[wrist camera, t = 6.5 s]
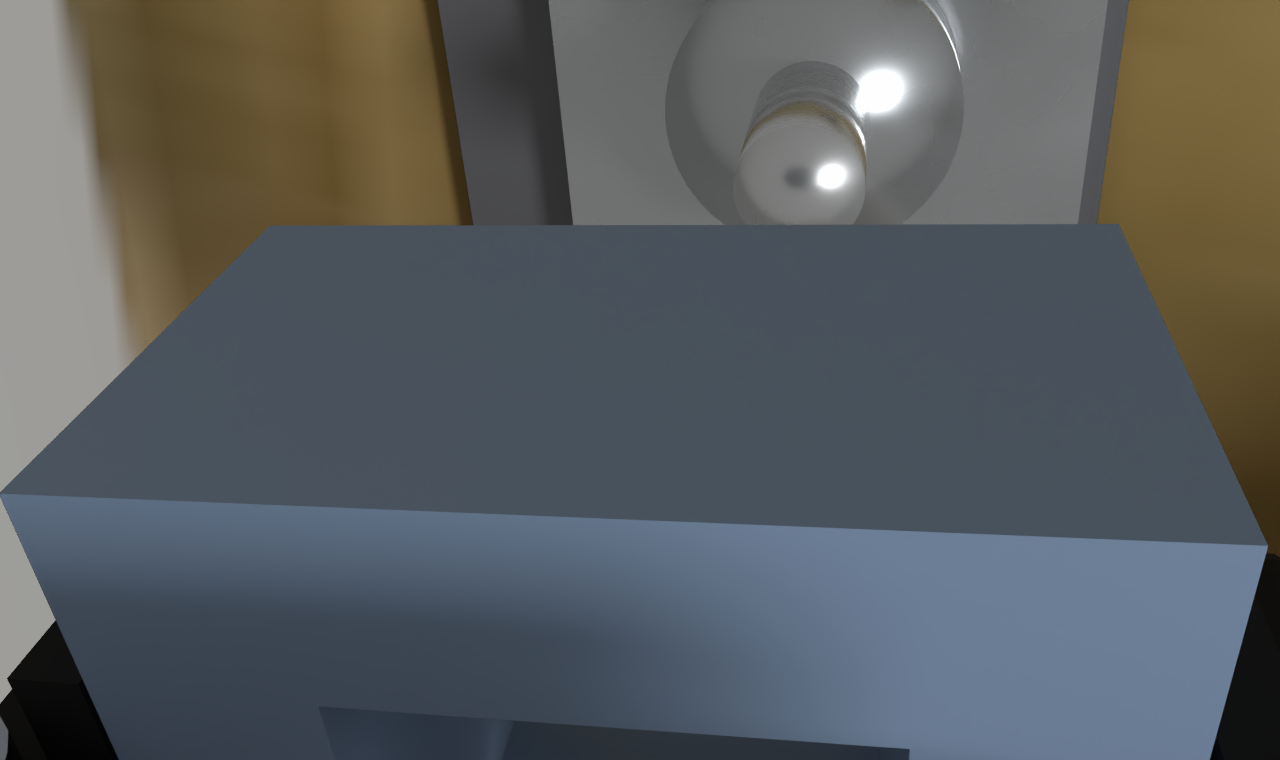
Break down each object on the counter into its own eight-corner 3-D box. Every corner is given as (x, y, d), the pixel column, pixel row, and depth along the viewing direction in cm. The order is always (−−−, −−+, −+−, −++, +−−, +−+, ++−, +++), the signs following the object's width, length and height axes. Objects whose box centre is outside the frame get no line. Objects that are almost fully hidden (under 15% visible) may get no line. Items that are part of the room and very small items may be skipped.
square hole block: (1117, 224, 8) (1268, 546, 5) (1025, 817, 11) (1084, 1218, 9) (269, 225, 9) (-2, 492, 6) (411, 769, 13) (276, 1108, 10)
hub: (1130, -234, 19) (1213, -195, 14) (1059, 308, 24) (1101, 472, 19) (539, -197, 21) (433, -151, 16) (590, 298, 26) (522, 445, 21)
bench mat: (1189, -461, 18) (1195, -464, 17) (989, 953, 36) (990, 965, 36) (385, -382, 20) (377, -383, 20) (585, 903, 39) (582, 914, 38)
